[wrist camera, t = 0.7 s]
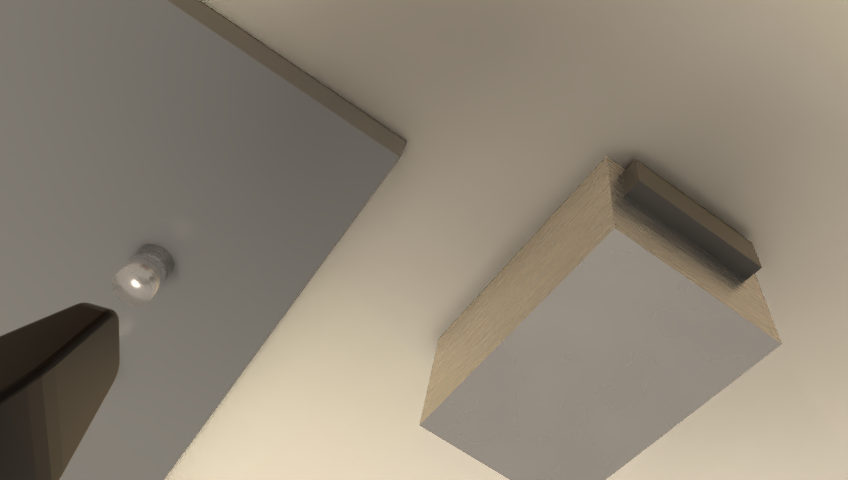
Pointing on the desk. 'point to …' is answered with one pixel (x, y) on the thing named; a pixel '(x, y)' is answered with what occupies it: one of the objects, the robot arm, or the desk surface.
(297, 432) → the desk surface
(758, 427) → the desk surface
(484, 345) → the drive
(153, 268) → the pin tray
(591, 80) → the desk surface
